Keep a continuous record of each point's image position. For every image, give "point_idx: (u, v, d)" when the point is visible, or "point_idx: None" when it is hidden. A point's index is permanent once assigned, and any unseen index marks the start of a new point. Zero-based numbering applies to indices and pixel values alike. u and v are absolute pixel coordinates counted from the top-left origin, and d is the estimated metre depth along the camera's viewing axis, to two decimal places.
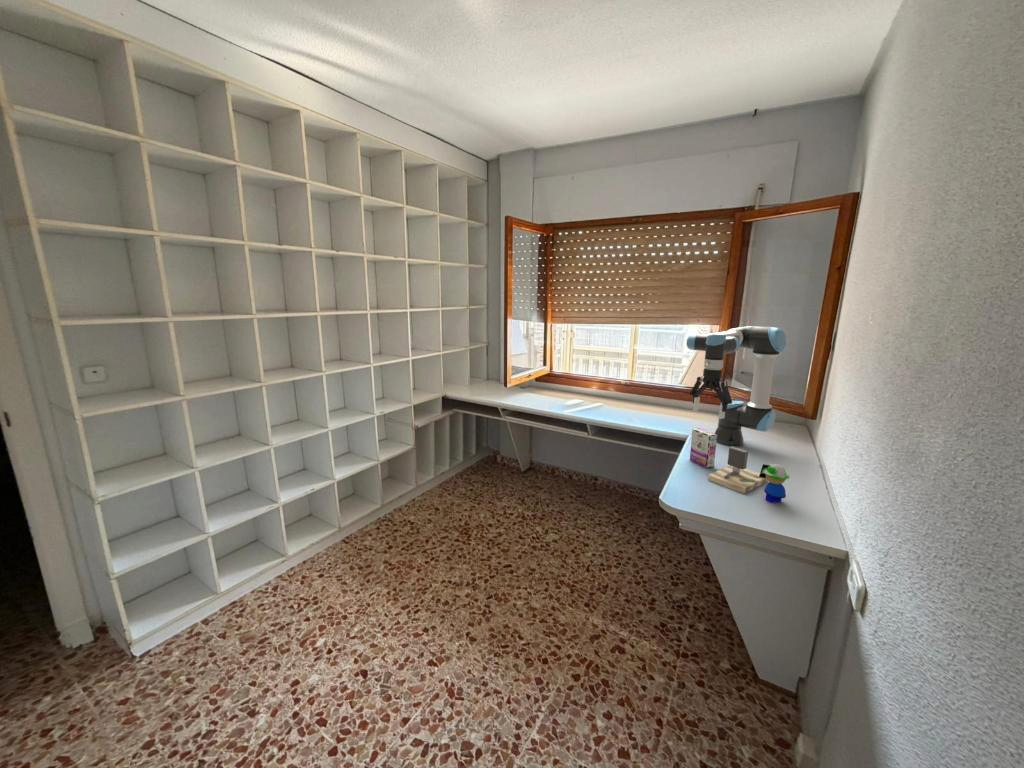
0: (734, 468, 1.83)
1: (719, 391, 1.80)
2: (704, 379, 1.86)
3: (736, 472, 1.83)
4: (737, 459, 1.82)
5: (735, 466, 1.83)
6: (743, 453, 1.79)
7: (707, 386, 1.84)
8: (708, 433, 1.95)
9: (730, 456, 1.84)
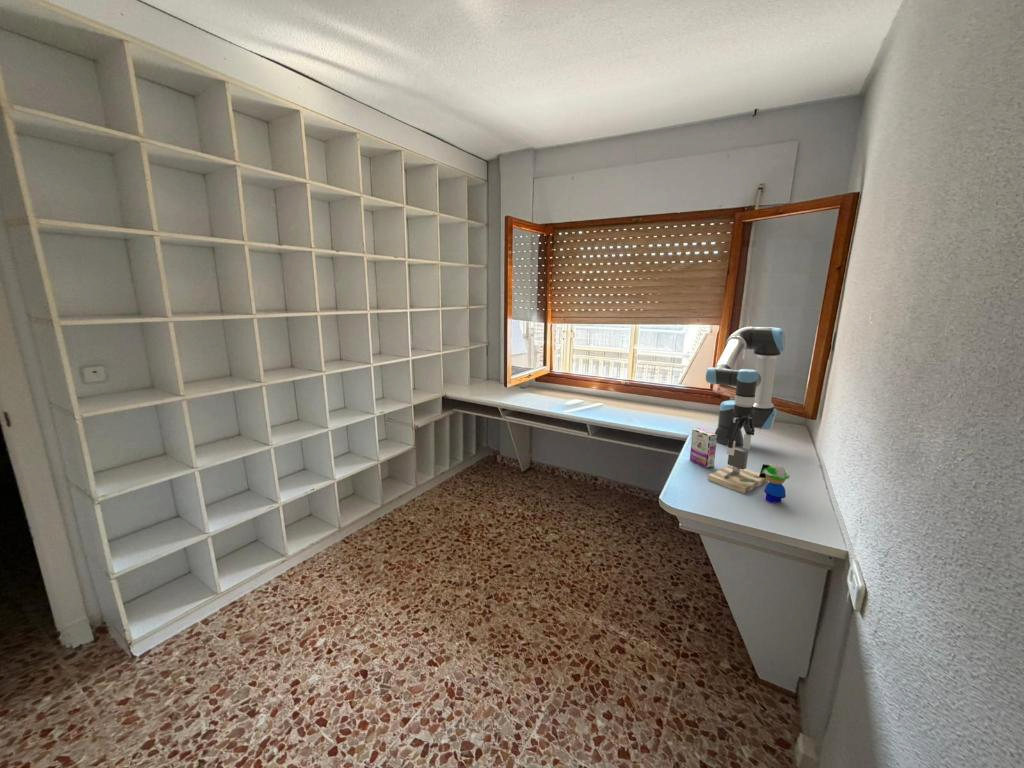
0: (734, 468, 1.83)
1: None
2: None
3: (736, 472, 1.83)
4: (737, 459, 1.82)
5: (735, 466, 1.83)
6: (743, 453, 1.79)
7: None
8: (708, 433, 1.95)
9: (730, 456, 1.84)
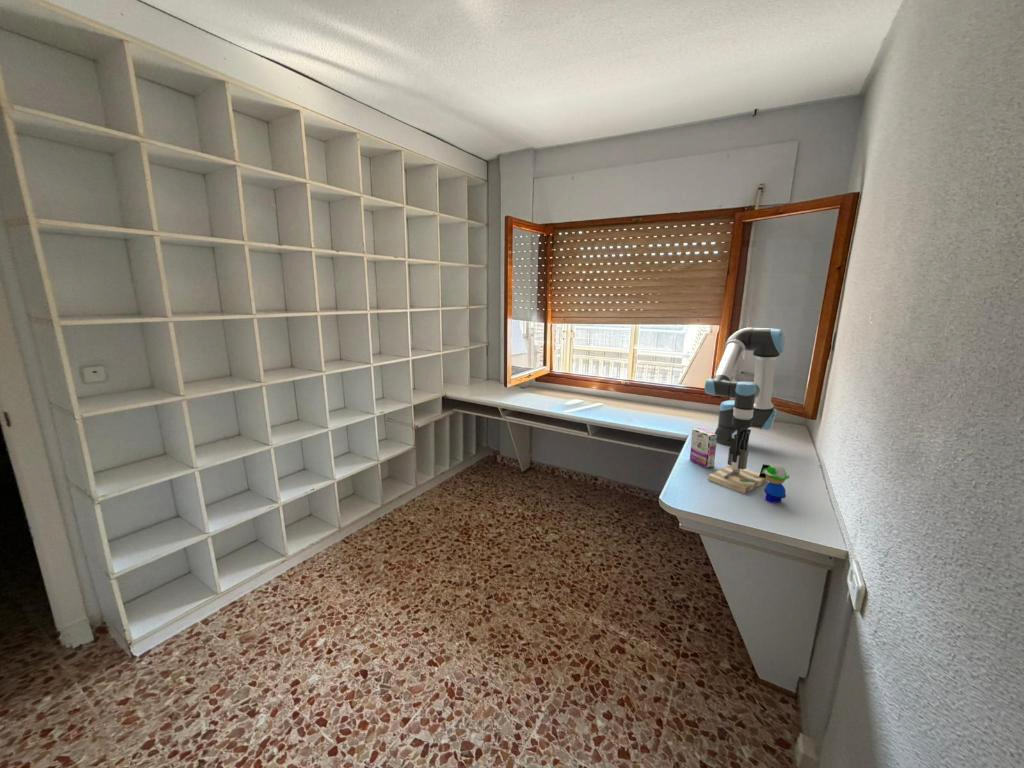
0: None
1: None
2: None
3: (736, 472, 1.83)
4: None
5: None
6: (743, 453, 1.79)
7: None
8: (708, 433, 1.95)
9: (730, 456, 1.84)
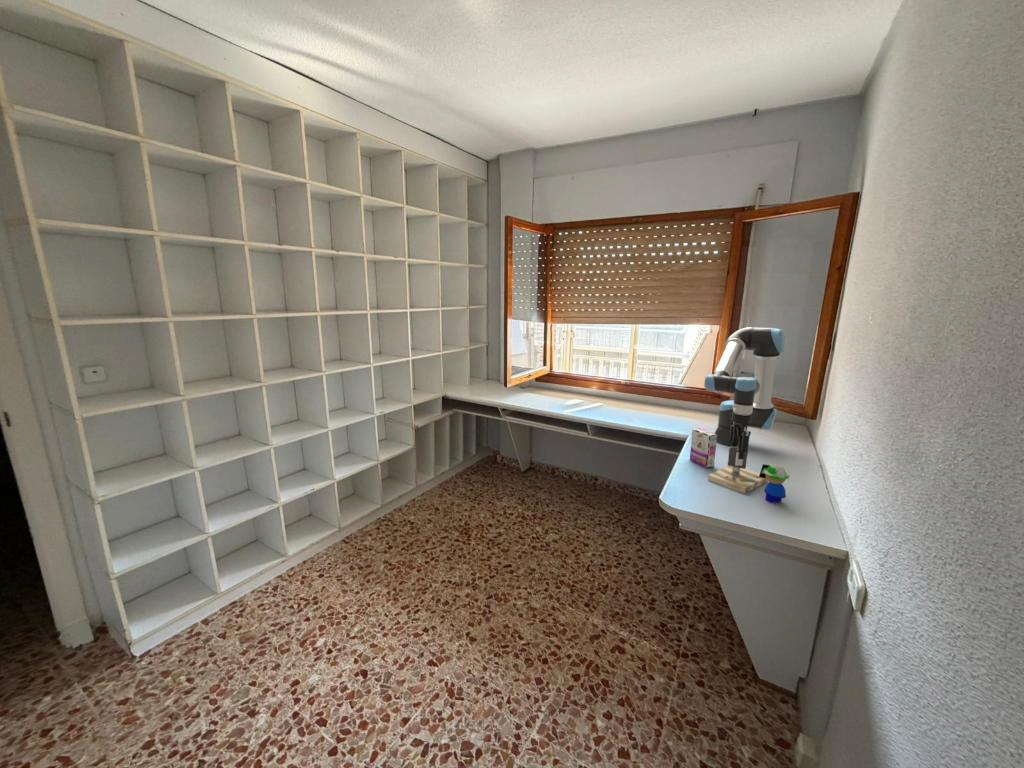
0: (735, 468, 1.83)
1: (741, 438, 1.78)
2: (734, 422, 1.83)
3: (737, 472, 1.83)
4: None
5: (736, 466, 1.83)
6: (745, 453, 1.80)
7: (736, 430, 1.82)
8: (708, 433, 1.95)
9: (730, 457, 1.83)
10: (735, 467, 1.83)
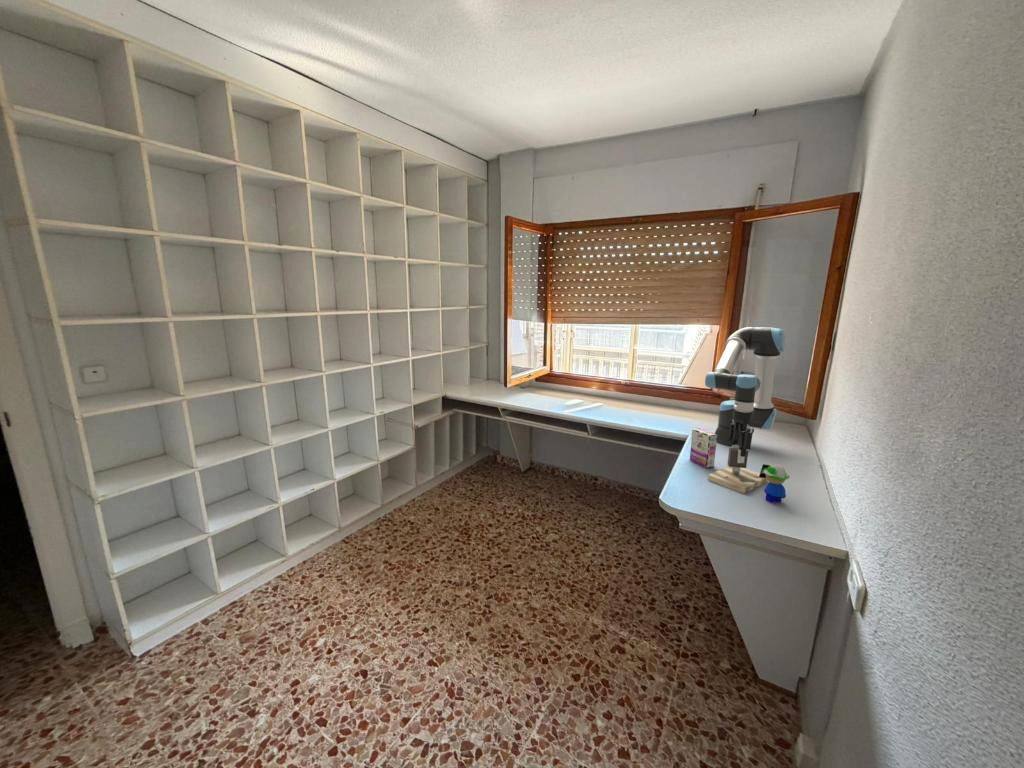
0: (737, 469, 1.83)
1: (743, 435, 1.78)
2: (734, 420, 1.82)
3: (738, 472, 1.83)
4: None
5: (737, 466, 1.82)
6: (746, 452, 1.80)
7: (737, 427, 1.81)
8: (708, 433, 1.95)
9: (732, 458, 1.82)
10: (736, 467, 1.83)
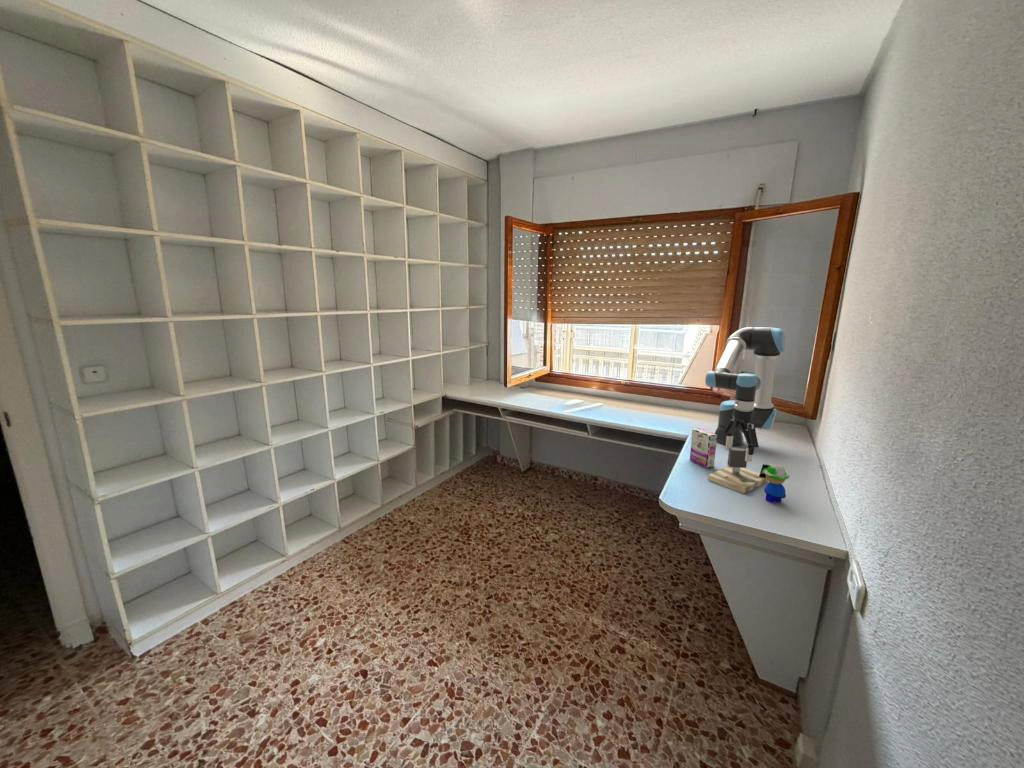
0: (737, 469, 1.83)
1: (747, 433, 1.76)
2: (735, 419, 1.82)
3: (739, 472, 1.83)
4: (740, 459, 1.82)
5: (738, 466, 1.82)
6: None
7: (737, 426, 1.81)
8: (708, 433, 1.95)
9: (732, 458, 1.82)
10: (737, 467, 1.83)
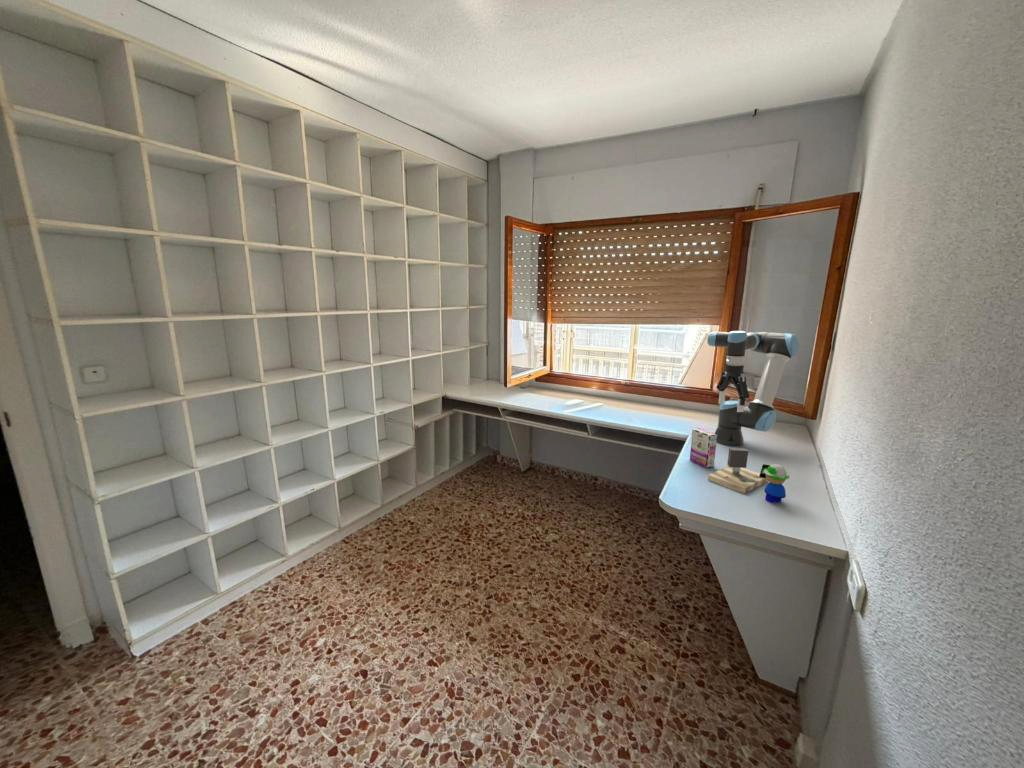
0: (737, 469, 1.83)
1: (738, 386, 1.90)
2: (727, 374, 1.97)
3: (739, 472, 1.83)
4: (740, 459, 1.82)
5: (738, 466, 1.82)
6: (746, 452, 1.81)
7: (729, 381, 1.95)
8: (708, 433, 1.95)
9: (732, 458, 1.82)
10: (737, 467, 1.83)
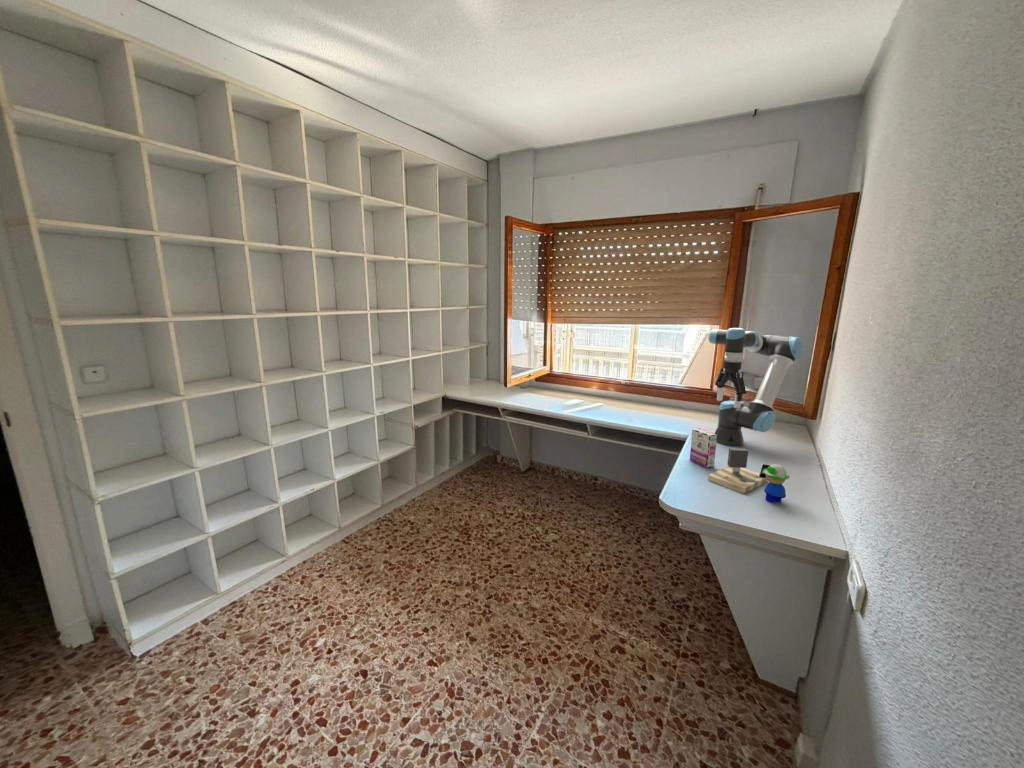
0: (737, 469, 1.83)
1: (736, 382, 1.93)
2: (725, 371, 1.99)
3: (739, 472, 1.83)
4: (740, 459, 1.82)
5: (738, 466, 1.82)
6: (746, 452, 1.81)
7: (727, 377, 1.98)
8: (708, 433, 1.95)
9: (732, 458, 1.82)
10: (737, 467, 1.83)
